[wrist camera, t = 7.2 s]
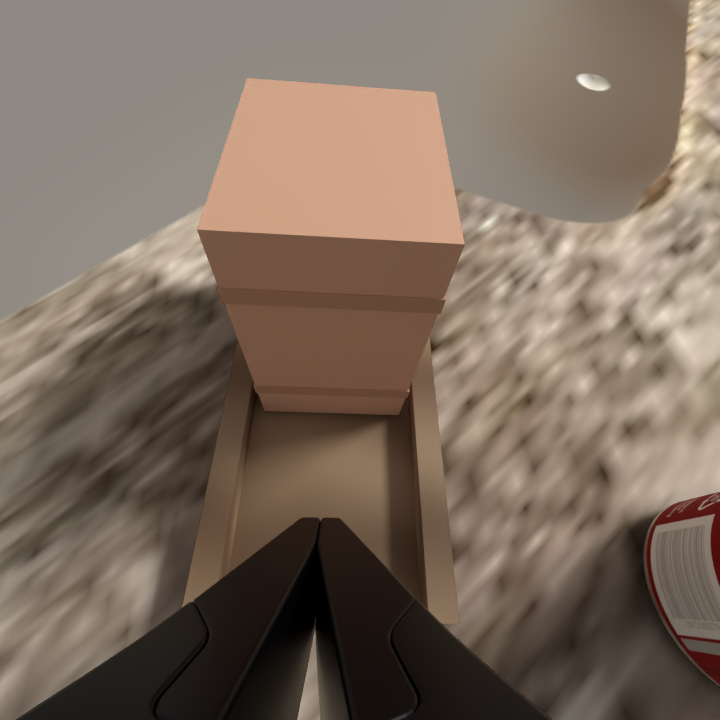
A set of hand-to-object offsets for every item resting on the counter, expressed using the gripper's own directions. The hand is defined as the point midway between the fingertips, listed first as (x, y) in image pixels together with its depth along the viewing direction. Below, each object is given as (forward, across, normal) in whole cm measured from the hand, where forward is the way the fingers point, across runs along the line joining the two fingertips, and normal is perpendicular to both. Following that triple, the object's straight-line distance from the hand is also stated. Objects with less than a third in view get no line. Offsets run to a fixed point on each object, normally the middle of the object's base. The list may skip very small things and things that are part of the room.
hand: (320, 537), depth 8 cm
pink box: (+12, 0, +2) cm, 12 cm away
